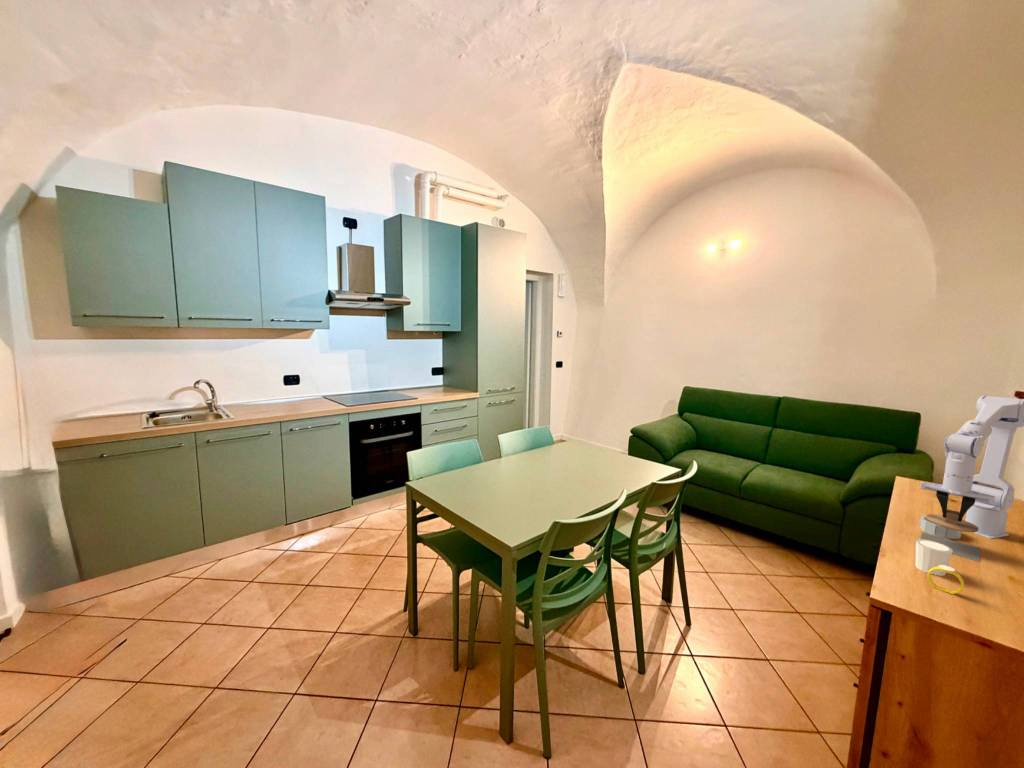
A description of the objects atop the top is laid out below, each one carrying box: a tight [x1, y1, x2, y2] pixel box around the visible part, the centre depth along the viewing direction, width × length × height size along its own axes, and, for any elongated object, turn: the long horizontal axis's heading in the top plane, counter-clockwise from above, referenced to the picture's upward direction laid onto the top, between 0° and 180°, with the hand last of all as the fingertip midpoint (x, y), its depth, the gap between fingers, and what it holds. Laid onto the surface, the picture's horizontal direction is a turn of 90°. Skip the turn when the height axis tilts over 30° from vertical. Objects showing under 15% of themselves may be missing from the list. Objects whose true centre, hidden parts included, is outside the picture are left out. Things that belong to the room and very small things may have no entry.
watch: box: [927, 565, 965, 595], centre depth 98 cm, size 6×3×6 cm, turn 38°
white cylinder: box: [915, 538, 953, 577], centre depth 106 cm, size 7×7×7 cm
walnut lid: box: [925, 508, 978, 533], centre depth 119 cm, size 10×10×4 cm
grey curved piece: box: [919, 515, 962, 540], centre depth 128 cm, size 9×9×4 cm
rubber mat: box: [919, 532, 981, 563], centre depth 119 cm, size 12×12×1 cm
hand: (951, 518), depth 119 cm, fingers closed on walnut lid, 2 cm apart
